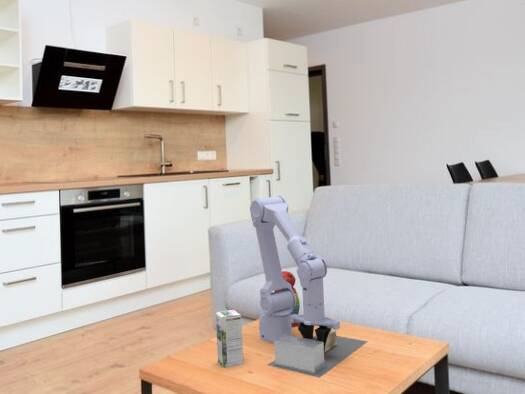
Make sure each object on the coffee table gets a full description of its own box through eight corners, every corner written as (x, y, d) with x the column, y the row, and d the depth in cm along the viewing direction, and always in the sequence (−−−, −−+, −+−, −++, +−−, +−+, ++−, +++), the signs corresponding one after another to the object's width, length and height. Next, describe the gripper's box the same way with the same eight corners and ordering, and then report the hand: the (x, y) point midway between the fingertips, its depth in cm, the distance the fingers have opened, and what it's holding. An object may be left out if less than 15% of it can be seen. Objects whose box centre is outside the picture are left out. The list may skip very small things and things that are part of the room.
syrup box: (217, 364, 139) (214, 312, 138) (237, 359, 141) (234, 308, 140) (224, 371, 133) (220, 317, 132) (245, 366, 136) (241, 313, 135)
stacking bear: (309, 321, 170) (306, 270, 169) (290, 330, 163) (287, 276, 162) (285, 316, 178) (282, 266, 177) (265, 324, 170) (262, 272, 169)
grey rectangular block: (275, 365, 133) (274, 340, 133) (285, 358, 137) (284, 334, 137) (314, 374, 126) (313, 348, 126) (324, 367, 130) (323, 341, 130)
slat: (303, 366, 130) (302, 351, 130) (293, 364, 132) (293, 349, 132) (336, 344, 145) (335, 330, 144) (327, 342, 147) (326, 329, 146)
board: (267, 368, 134) (267, 364, 134) (319, 336, 156) (319, 332, 156) (319, 381, 124) (319, 377, 124) (367, 344, 147) (367, 341, 146)
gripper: (283, 303, 138) (285, 351, 139) (329, 309, 130) (332, 361, 131) (297, 296, 144) (299, 343, 145) (342, 302, 136) (344, 352, 136)
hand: (315, 351), depth 138 cm, fingers closed on slat, 3 cm apart
